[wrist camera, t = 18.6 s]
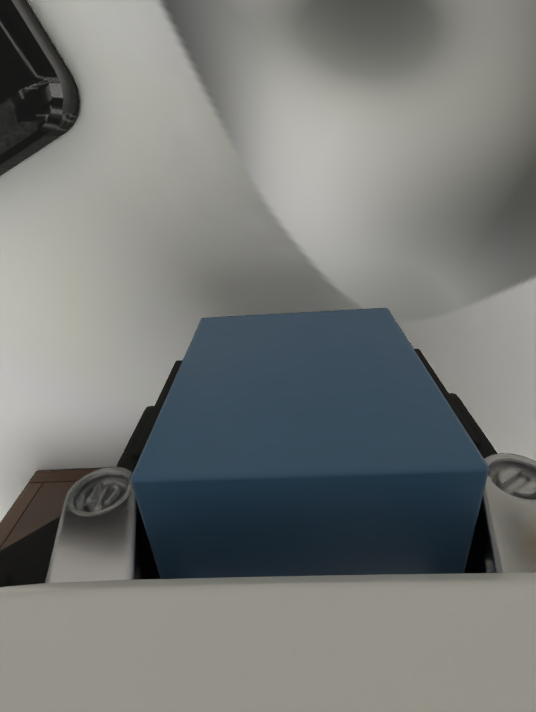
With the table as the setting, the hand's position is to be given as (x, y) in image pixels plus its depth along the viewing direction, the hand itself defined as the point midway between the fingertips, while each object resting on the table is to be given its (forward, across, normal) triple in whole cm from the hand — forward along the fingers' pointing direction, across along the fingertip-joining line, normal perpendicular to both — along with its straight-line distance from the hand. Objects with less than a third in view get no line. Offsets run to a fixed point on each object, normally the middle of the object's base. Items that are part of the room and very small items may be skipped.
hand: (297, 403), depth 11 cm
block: (+1, 0, 0) cm, 1 cm away
